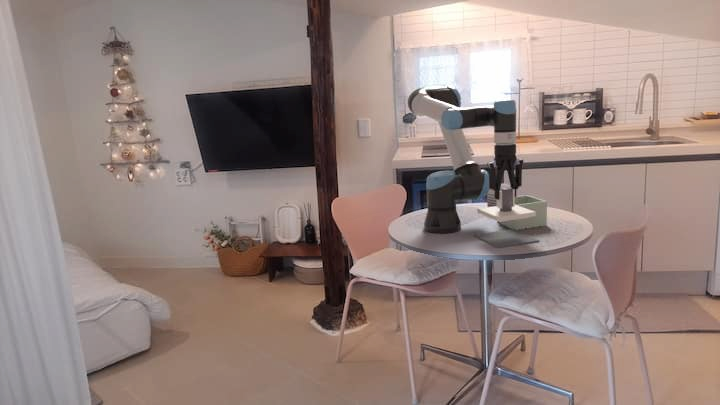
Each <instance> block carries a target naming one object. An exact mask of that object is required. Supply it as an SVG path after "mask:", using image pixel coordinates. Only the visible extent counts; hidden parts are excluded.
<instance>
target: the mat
mask: <svg viewBox="0 0 720 405" xmlns="http://www.w3.org/2000/svg"><path fill="white" fill-rule="evenodd" d="M474 237H475V238H477V239H479V240H481V241H483V242H485V243H487V244H488V245H490V246H492V247H494V248H496V249H500V248H501V249H502V248H508V247H512V246H513V247H515V246H522V245H526V244H532V243H540V240H539V239H537V238H535V237H533V236H531V235H529V234H526V233H524V232H523V231H520V230H515V229H512V228H508V229H504V230H497V231H490V232H483V233H477V234H474Z"/></svg>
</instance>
